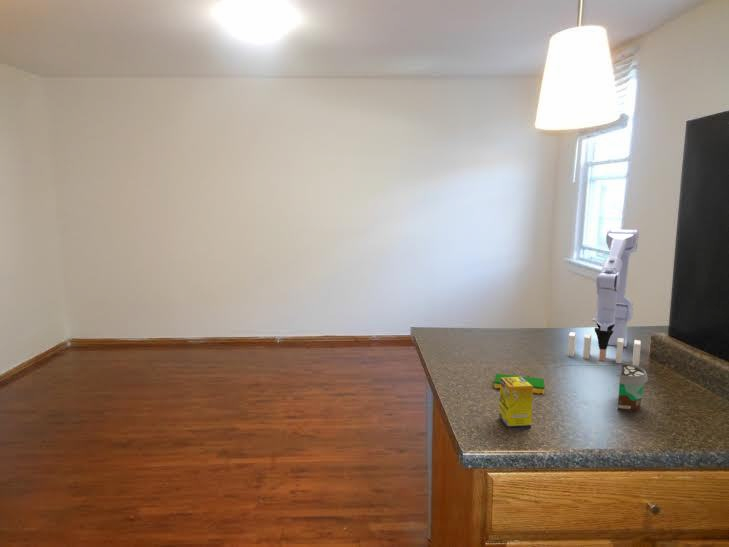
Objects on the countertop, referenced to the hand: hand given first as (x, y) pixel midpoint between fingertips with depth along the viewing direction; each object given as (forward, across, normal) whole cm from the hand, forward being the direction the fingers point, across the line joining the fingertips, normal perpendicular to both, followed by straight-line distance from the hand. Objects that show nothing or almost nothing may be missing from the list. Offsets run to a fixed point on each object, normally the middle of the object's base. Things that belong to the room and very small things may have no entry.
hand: (603, 345), depth 157 cm
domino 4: (+5, 0, +5) cm, 7 cm away
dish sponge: (+5, +39, -20) cm, 44 cm away
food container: (+5, +38, +9) cm, 39 cm away
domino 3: (+5, 0, 0) cm, 5 cm away
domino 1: (+5, 0, -10) cm, 11 cm away
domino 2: (+5, 0, -5) cm, 7 cm away
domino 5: (+5, 0, +10) cm, 11 cm away
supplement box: (+4, +63, -16) cm, 65 cm away
